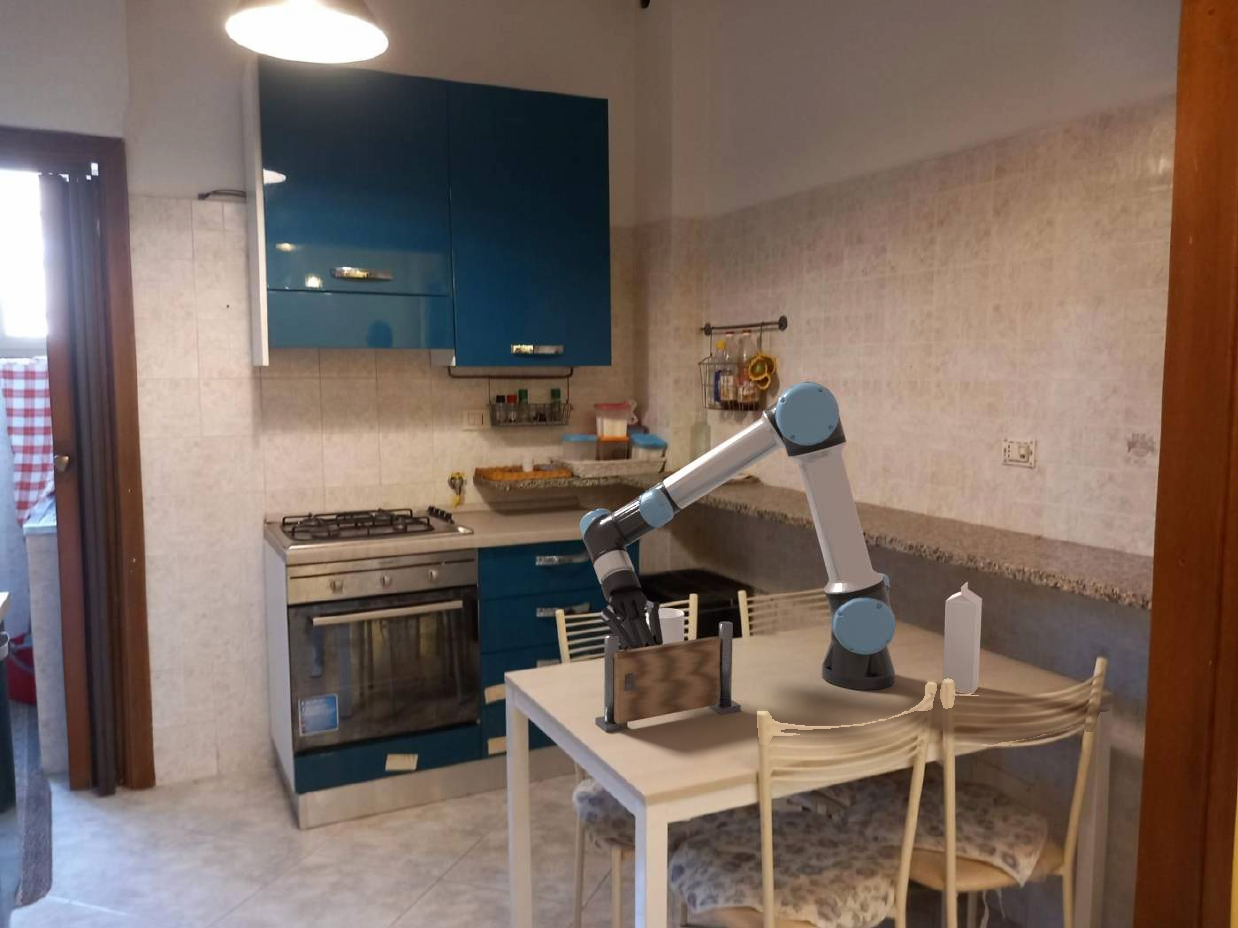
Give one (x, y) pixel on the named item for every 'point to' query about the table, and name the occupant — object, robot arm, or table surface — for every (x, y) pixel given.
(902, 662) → the table surface
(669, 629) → the mug
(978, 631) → the milk
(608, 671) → the gate frame
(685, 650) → the gate
